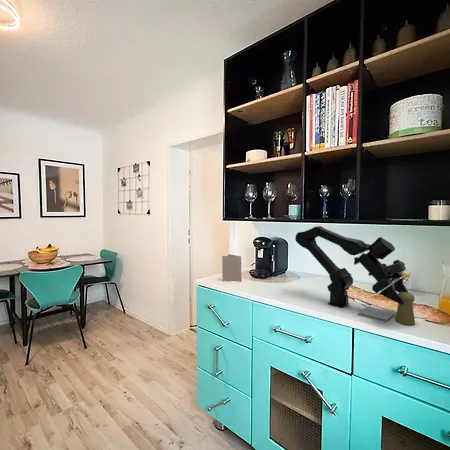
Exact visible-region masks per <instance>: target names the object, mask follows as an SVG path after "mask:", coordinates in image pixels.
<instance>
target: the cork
mask: <svg viewBox="0 0 450 450" xmlns="http://www.w3.org/2000/svg"><path fill="white" fill-rule="evenodd" d="M408 292H409V291H408ZM408 292H397V294H398V295H399V296H400V297H401V299H402V300H403V302H404V304H403V305H401V304H399V303H397V308H396V309H397V310H396V313H395V318H394V320H395V322H396V323H397V324H399V325H402V326H406V327H407V326H408V327H413V326H416V319H415V313H414V311H415V310H414V305H413V304H414V302H415V296H414V294H413V293H412V292H409V293H408Z"/></svg>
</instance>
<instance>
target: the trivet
mask: <svg viewBox="0 0 450 450" xmlns="http://www.w3.org/2000/svg"><path fill="white" fill-rule="evenodd" d="M357 315H358V316H360V317H363V318H364V317H365V318H368V319H372V320H376V321H380V322H383V323H388V322H389V321H390V320H391V319H393V317H395V316H396V312H395V311H391V310H386V309H381V308H378V307H374V306H369V305H367V306H366V307H364V308H362V309H361V310H360V311H358V314H357Z"/></svg>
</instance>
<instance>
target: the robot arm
mask: <svg viewBox="0 0 450 450" xmlns="http://www.w3.org/2000/svg"><path fill="white" fill-rule="evenodd" d="M317 237H320V238H322V239H324V240H326V241H329V242H331V243H332V244H335V245H337V246H339V247H340V248H341V250H343V251H344V252H346V253H347V254H348V255H350V256H355V257H354V258H353V264H354V266H355V265H358V264H360V265H362V267H363V268H364V269H365V270H366V271H367V272H368V275H369V277H371V276H372V277H373V278H374V279H375V281H376V282H375V283H374V284H373V285H371V287H372V288H371V289H372V291H373V292H374V293H375V294H378V295H379V296H380V295H381V296H382V297H385V298H387V299H389V300H391V301H393V302H395V303H397V304H398V303H399V304H401V305H403V304H404V302H403V300H402V299H401V297H400V296H399V295H398V293H399V292H408V293H410V292H409V291H408V289H407V287H406V285H405V284H404V278H405V277H404V274H403V272H405V271H407V268H406V263H405V262H403V261H400V259H396V260H394V261H393V262H392V264H389V265H387V264H386V263H382V262H381V261H379V260H384V259H385V258H387V257H388V256H389V255H390V254H392V253H393V252H394V251H396V247H395V246H394V245H393V244H392V242H390V241H389V240H386V239H385V238H383V237H381V236H378V238H376V239H375V241H373V242H372V244H369V243H366V242H365V241H363V240H361V239H356V238H352V237H346V236H343V235H341V234H339V233H336V232H334V231H332V230H330V229H327V228H324V227H323V226H322V225H321V226H313V227H312V228H309V229H307V230H305V231H299V232H297V233H296V234H295V238H294V239H295V241H296V243H297V245H299V246H301V247H302V248H304V249H306V250H308V251H309V252H310V254H311V255H312V256H313V258H315V260H316V261H317V262H318V264H320V265H321V266H322V267H323V269H324V270H325V271H326V272H327V273H328V275H329V280H330V282H331V283H329V284H328V285H327V287H326V288H327V290H328V292H329V302H327V303H328V305H330V306H335V307H339V308H341V309H342V308H346V306H348V305H349V294H348V291H349V290H350V288H351V286H353V285H354V279H353V275H352V274H351V273H350V272H349V271H348V270H347V268H346V267H342V268H340V267H339V266H337V265H336V264H335V262H334V261H333V260H332V259H331V258H330V257H329V256H328V255H327V254H326V252H325V251H324V250H323V249H322V248H321V247H320V246H319V245H318V244H317V241H316V239H317ZM366 252H367V253H366ZM357 255H359V256H357Z"/></svg>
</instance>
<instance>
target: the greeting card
mask: <svg viewBox="0 0 450 450" xmlns="http://www.w3.org/2000/svg"><path fill="white" fill-rule="evenodd" d="M221 260H222V261H221V265H222V266H221V267H222V271H221V272H222V276H221V277H222V282H231V281H239V282H238V283H242V277H243V276H242V256H240V255H235V254H230V253H228V254H227V255H221Z"/></svg>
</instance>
